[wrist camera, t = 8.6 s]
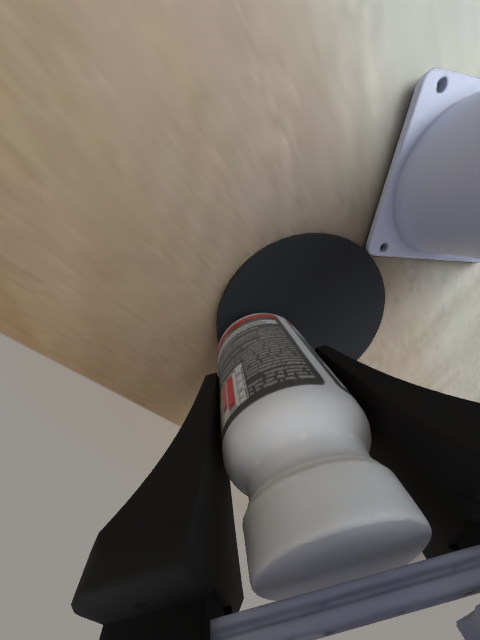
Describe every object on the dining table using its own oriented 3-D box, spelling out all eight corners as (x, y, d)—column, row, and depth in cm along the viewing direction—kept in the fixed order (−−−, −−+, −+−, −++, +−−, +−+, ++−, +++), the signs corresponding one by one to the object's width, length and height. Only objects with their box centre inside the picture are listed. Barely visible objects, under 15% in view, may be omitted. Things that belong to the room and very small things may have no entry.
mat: (407, 240, 12) (415, 240, 12) (350, 385, 17) (353, 389, 17) (218, 225, 11) (218, 225, 10) (214, 390, 16) (215, 394, 15)
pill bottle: (207, 370, 14) (195, 619, 5) (232, 299, 12) (289, 502, 3) (277, 384, 15) (366, 598, 6) (311, 323, 13) (508, 510, 4)
